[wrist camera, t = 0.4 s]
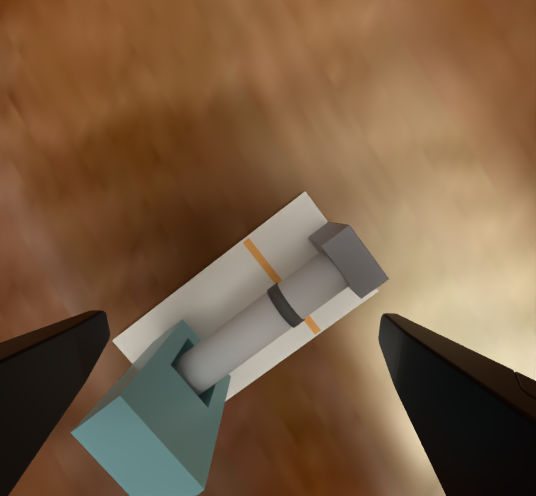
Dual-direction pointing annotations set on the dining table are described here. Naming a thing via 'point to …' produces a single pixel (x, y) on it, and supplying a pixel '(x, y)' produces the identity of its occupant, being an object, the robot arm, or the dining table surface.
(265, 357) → the pipe rig
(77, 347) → the robot arm
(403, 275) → the dining table surface
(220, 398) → the sleeve collar
